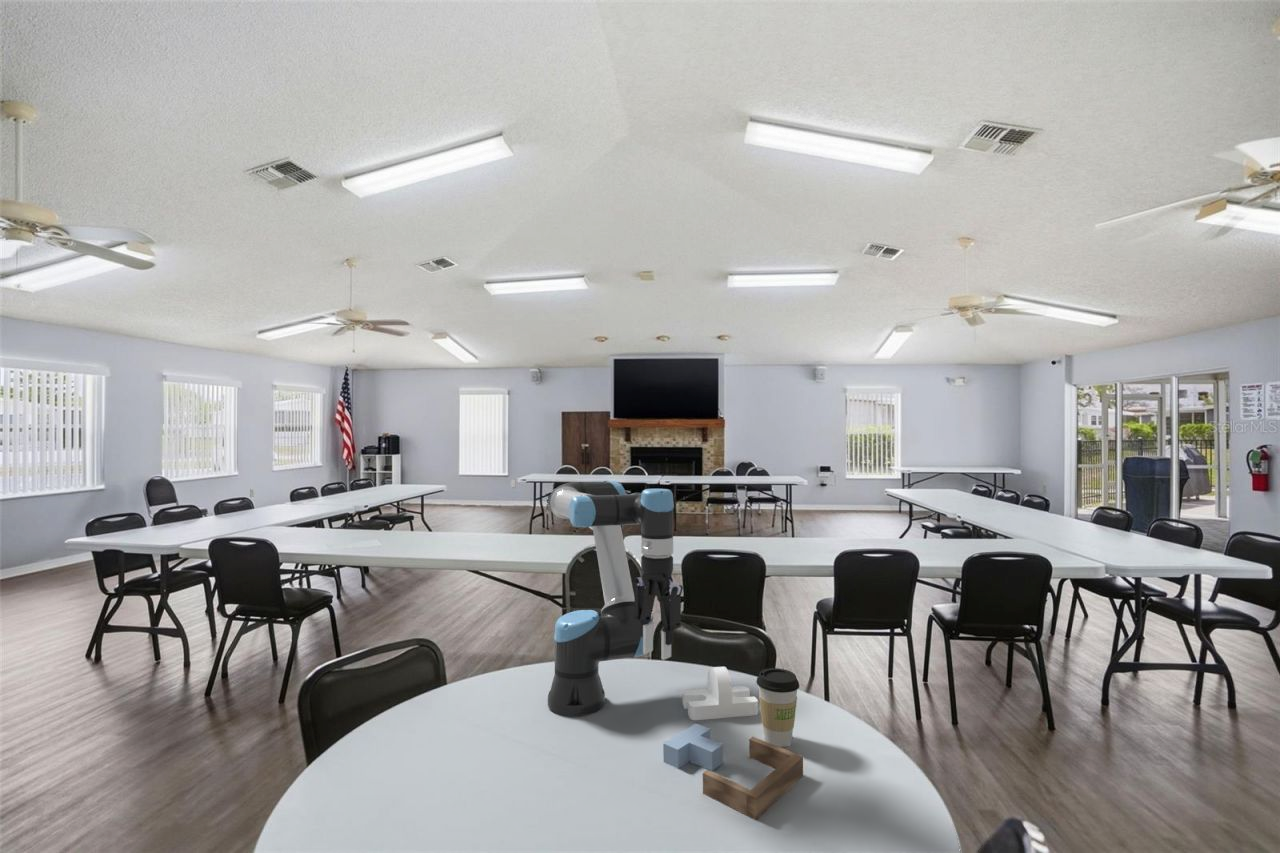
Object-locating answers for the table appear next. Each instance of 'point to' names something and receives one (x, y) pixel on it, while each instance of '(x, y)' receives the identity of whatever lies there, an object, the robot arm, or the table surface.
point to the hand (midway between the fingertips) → (657, 654)
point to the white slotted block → (719, 698)
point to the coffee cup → (777, 704)
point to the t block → (693, 749)
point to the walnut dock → (763, 792)
